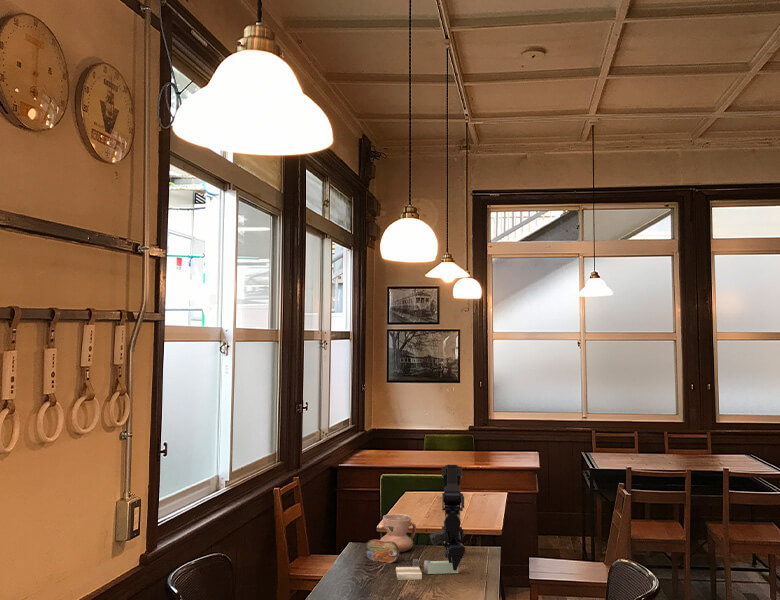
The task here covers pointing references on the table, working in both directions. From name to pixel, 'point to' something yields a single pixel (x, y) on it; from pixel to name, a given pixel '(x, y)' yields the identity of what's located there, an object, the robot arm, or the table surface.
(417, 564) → the leg stop
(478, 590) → the table surface
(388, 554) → the tin
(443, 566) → the stool leg
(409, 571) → the stool seat
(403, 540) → the ceramic jug
